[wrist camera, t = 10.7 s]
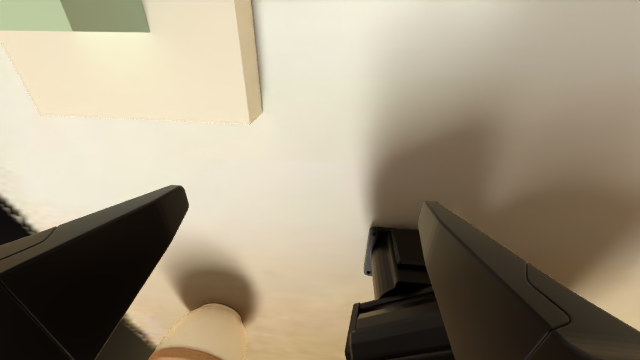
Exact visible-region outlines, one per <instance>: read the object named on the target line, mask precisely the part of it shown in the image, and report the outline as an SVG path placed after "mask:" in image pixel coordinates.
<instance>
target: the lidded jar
mask: <svg viewBox="0 0 640 360" xmlns="http://www.w3.org/2000/svg"><path fill="white" fill-rule="evenodd" d="M241 321H242V320H241V317H240V315H239V314H238V313H237V312H236V311H235V310H234V309H232V308H230V307H228V306H226V305H222V304H217V303H209V304H205V305H203V306H201V307H200V308H198V309H195V310H193V311H190V312H189V313H187V314H186V315H184V316H183V317H181V318H180V319H179V320H178V321H177V322H176V323H175V324H174V325H173V326H172V327H171V328H170V330H169V331H168V332H167V334H166V335H165V336H164V337H163V339H162V341H161V342H160V344H159V345H158V347H157V348H156V350H155V352H154V353H153V354H152V355H151V356H150V358H149V359H148V360H245V358H246V352H247V336H246V331H245V328H244V326H243V324H242V322H241Z"/></svg>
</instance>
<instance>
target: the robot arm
mask: <svg viewBox="0 0 640 360" xmlns="http://www.w3.org/2000/svg"><path fill="white" fill-rule="evenodd" d="M188 208H189V203H188V200H187V196H186V193H185V190H184V188H183V187H182V186H179V185H170V186H167V187H164V188H161V189H159V190H156V191H153V192H150V193H148V194H145V195H142V196H139V197H136V198H134V199H131V200H128V201H125V202H123V203H120V204H117V205H114V206H112V207H109V208H106V209H103V210H100V211H98V212H95V213H92V214H89V215H87V216H84V217H81V218H78V219H75V220H73V221H70V222H67V223H64V224H62V225H59V226H58V227H53V228H50V229H48V230H45V231H42V232H39V233H36V234H33V235H31V236H28V237H25V238H22V239H19V240H16V241H13V242H11V243H8V244H4V245H2V246H0V360H95V359H96V357H97V356H98V354H99V353H100V351H101V350H102V348H103V347H104V345H105V344H106V342H107V341H108V339H109V337H110V336H111V334H112V333H113V331H114V330H115V328H116V327H117V325H118V323H119V322H120V321H121V319H122V317H123V316H124V314H125V313H126V311H127V310H128V308H129V307H130V305H131V304H132V302H133V301H134V299H135V297H136V296H137V294H138V293H139V291H140V290H141V288H142V287H143V285H144V284H145V282H146V281H147V279H148V277H149V276H150V274H151V273H152V271H153V270H154V268H155V267H156V265H157V264H158V262H159V261H160V259H161V257H162V256H163V254H164V253H165V251H166V250H167V248H168V247H169V245H170V243H171V242H172V240H173V238H174V236H175V234H176V232H177V230H178V228H179V226H180V224H181V222H182V220H183V218H184V216H185V214H186V213H187V211H188ZM418 228H419V230H405V229H391V228H377V227H373V228H371V229H370V231H369V237H368V244H367V251H366V257H365V264H364V274H365V275H368V276H373V286H374V295H375V300H373V301H369V302H365V303H361V304H360V303H356V304H354V305H353V310H352V315H351V320H350V326H349V331H348V336H347V342H346V348H345V356H346V360H640V332H639V331H638V330H636V329H634V328H633V327H631V326H629V325H628V324H626V323H624V322H623V321H621V320H619V319H618V318H616V317H614V316H613V315H611V314H609V313H608V312H606V311H604V310H602V309H601V308H599V307H597V306H596V305H594V304H592V303H591V302H589V301H587V300H586V299H584V298H582V297H581V296H579V295H577V294H576V293H574V292H573V291H571V290H569V289H568V288H566V287H564V286H563V285H561V284H559V283H558V282H556V281H555V280H553V279H552V278H550V277H549V276H547V275H546V274H544V273H542V272H541V271H539V270H538V269H536V268H535V267H533V266H532V265H530V264H529V263H527V264H526V261H524V260H523V259H521V258H520V257H518V256H517V255H515V254H514V253H512V252H511V251H509V250H508V249H506V248H505V247H503V246H502V245H500V244H499V243H497V242H496V241H494V240H493V239H491V238H490V237H488V236H487V235H485V234H484V233H482V232H481V231H479V230H478V229H476V228H475V227H473V226H472V225H470V224H469V223H467V222H466V221H464V220H463V219H461V218H460V217H458V216H457V215H455V214H454V213H452V212H451V211H449V210H448V209H446V208H445V207H443V206H442V205H440V204H439V203H437V202H433V201H425V202H423V204H422V207H421V211H420V215H419V219H418ZM373 232H377V233H373Z"/></svg>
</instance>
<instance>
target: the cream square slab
mask: <svg viewBox="0 0 640 360" xmlns="http://www.w3.org/2000/svg"><path fill="white" fill-rule="evenodd" d="M141 1H142V4H143V8H144V11H145V15H146V18H147V22H148V26H149V29H150V33H143V32H66V31H0V43H1V44H2V46H3V48H4V50H5V52H6V54H7V55H8V57H9V59H10V61H11V63H12V65H13V66H14V68H15V70H16V72H17V74H18V76H19V77H20V79H21V81H22V83H23V85H24V87H25V88H26V90H27V92H28V94H29V96H30V98H31V99H32V101H33V103H34V105H35V107H36V109H37V110H38V112H39V114H40V115H45V116H67V117H90V118H113V119H136V120H159V121H182V122H205V123H228V124H251V123H252V122H253V121H254V120H255V119H256V118H257V117H259V116H260V115H261V114H262V105H261V95H260V85H259V75H258V65H257V54H256V44H255V34H254V24H253V14H252V4H251V0H141Z"/></svg>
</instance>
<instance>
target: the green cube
mask: <svg viewBox="0 0 640 360" xmlns="http://www.w3.org/2000/svg"><path fill="white" fill-rule="evenodd" d="M0 31H66V32H143V33H150V29H149V26H148V22H147V18H146V15H145V11H144V8H143V4H142V1H141V0H0Z"/></svg>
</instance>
